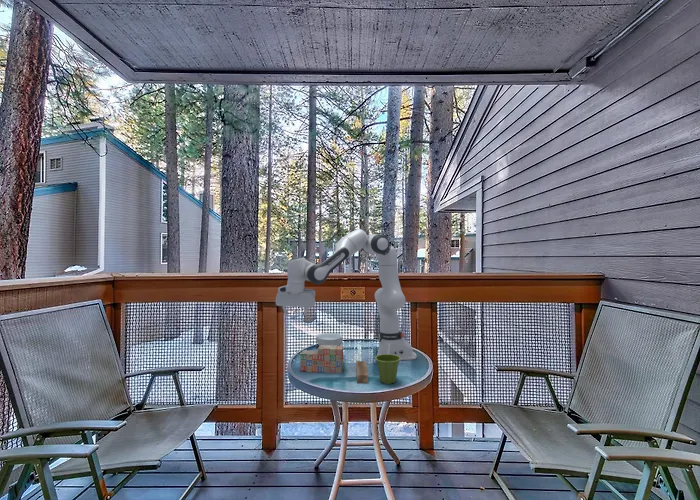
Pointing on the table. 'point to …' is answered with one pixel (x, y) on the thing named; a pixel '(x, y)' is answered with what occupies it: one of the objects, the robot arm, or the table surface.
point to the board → (361, 372)
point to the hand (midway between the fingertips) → (295, 314)
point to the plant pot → (387, 367)
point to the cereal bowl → (329, 339)
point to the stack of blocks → (322, 359)
